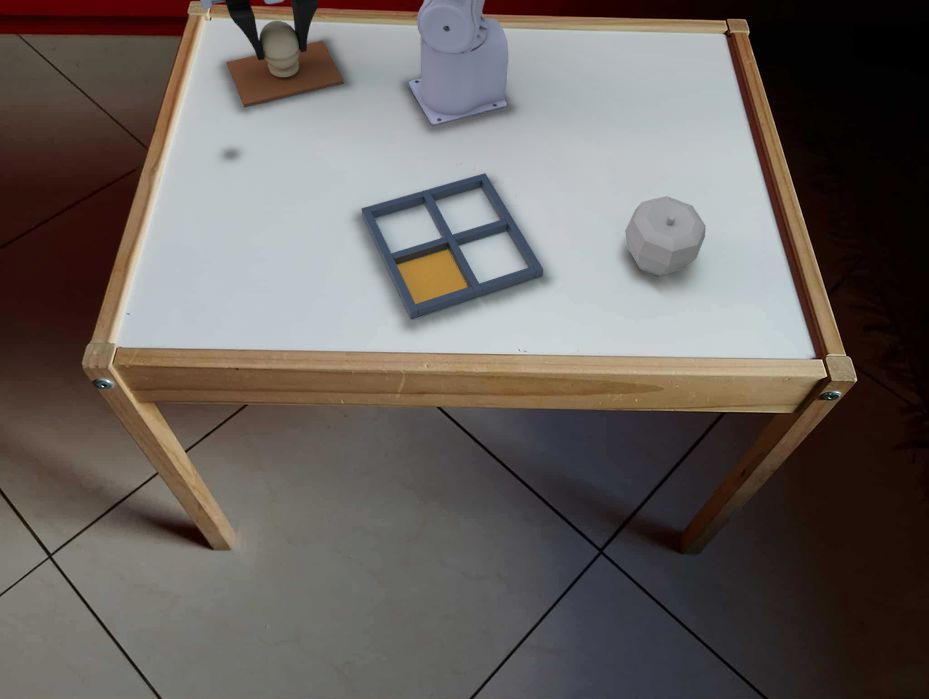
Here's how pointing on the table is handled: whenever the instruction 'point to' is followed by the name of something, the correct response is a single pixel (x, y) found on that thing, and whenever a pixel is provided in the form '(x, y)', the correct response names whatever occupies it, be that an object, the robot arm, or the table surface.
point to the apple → (664, 235)
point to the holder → (446, 252)
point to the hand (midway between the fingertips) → (280, 50)
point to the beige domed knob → (280, 48)
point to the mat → (265, 86)
